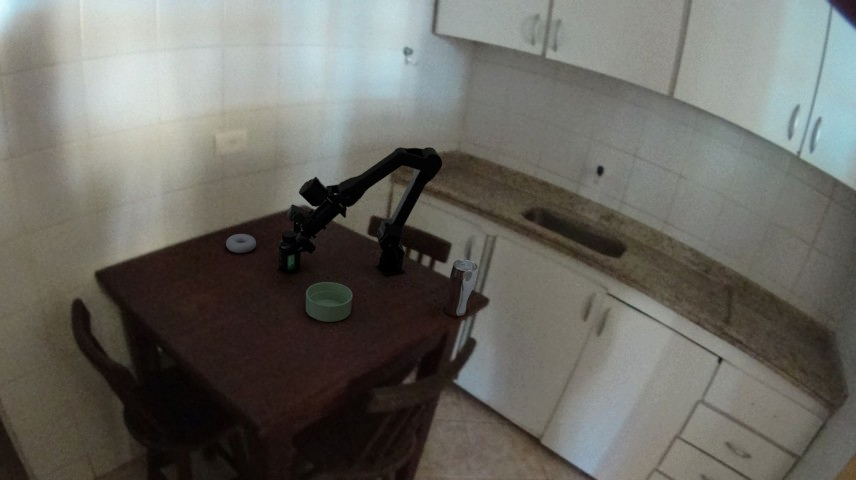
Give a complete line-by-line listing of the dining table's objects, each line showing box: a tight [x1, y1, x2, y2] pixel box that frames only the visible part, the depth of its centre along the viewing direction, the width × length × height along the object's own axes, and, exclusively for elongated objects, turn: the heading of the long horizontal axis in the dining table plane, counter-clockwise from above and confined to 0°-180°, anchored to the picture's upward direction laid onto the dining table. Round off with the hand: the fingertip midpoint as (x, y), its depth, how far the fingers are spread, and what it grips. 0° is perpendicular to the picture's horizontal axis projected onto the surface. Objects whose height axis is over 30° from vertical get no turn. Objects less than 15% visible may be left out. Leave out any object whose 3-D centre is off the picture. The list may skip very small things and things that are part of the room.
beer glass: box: [444, 259, 479, 318], centre depth 171 cm, size 7×7×15 cm
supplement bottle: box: [278, 229, 302, 274], centre depth 189 cm, size 7×7×12 cm
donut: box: [225, 233, 257, 254], centre depth 202 cm, size 10×4×10 cm
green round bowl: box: [304, 281, 354, 323], centre depth 173 cm, size 13×13×6 cm
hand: (285, 249), depth 189 cm, fingers closed on supplement bottle, 7 cm apart
